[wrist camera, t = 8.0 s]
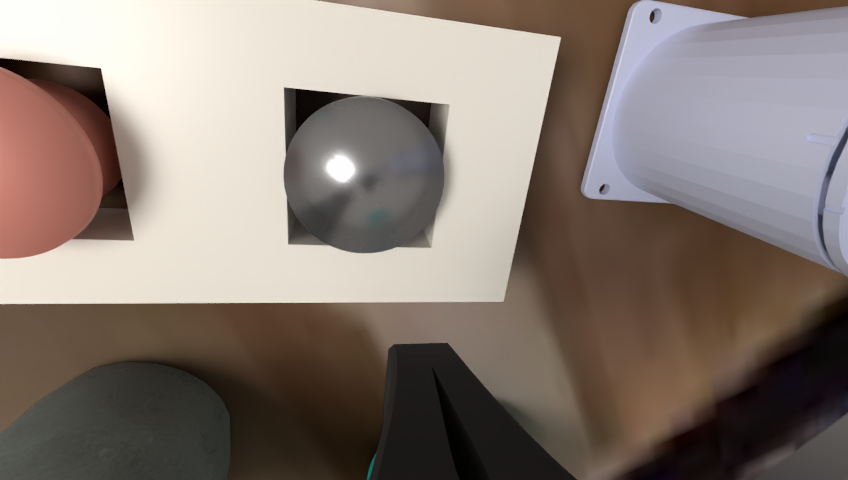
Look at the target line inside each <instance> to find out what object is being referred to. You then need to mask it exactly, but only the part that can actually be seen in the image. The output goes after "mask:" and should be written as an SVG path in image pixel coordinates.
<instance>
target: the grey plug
mask: <svg viewBox="0 0 848 480" xmlns="http://www.w3.org/2000/svg"><path fill="white" fill-rule="evenodd" d="M444 177H445V176H444V164H443V159H442V155H441V152H440V149H439V147H438V145H437V143H436V141H435V139H434V137H433V135H432V134H431V132H430V131H429V129H428V128H427V127H426V126H425V125H424V124H423V123H422V121H421V120H419V119H418V118H417V117H416V116H415V115H414V114H412V113H411V112H409V111H408V110H406V109H405V108H403V107H402V106H400V105H398V104H395V103H393V102H391V101H388V100H385V99H382V98H376V97H369V96H356V97H348V98H344V99H340V100H337V101H334V102H332V103H329V104H327V105H325V106H324V107H322V108H320V109H318V110H317V111H316V112H315V113H313V114H312V115H311V116H310V117H309V118H308V119H307V120H306V121H305V122H304V123H303V124H302V125H301V126H300V128H299V129H298V131H297V132H296V134H295V135H294V137H293V139H292V141H291V143H290V145H289V147H288V150H287V153H286V157H285V162H284V175H283V178H284V187H285V191H286V196H287V199H288V201H289V204H290V206H291V208H292V210H293V212H294V214H295V216H296V217H297V218H298V220H299V221H300V223H301V224H302V225H303V226H304V227H305V228H306V229H307V230H308V231H309V232H310V233H311V234H312V235H314V236H315V237H316V238H317V239H319V240H321V241H322V242H324V243H325V244H328V245H330V246H332V247H334V248H337V249H340V250H343V251H348V252H353V253H377V252H383V251H386V250H390V249H393V248H395V247H398V246H400V245H402V244H404V243H406V242H408V241H409V240H411V239H412V238H413V237H415V236H416V235H417V234H418V233H419V232H421V231H422V230H423V229H424V228H425V226H426V225H427V224H428V223H429V222H430V220H431V219H432V217H433V215H434V214H435V212H436V210H437V208H438V206H439V203H440V200H441V197H442V193H443V188H444Z"/></svg>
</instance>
